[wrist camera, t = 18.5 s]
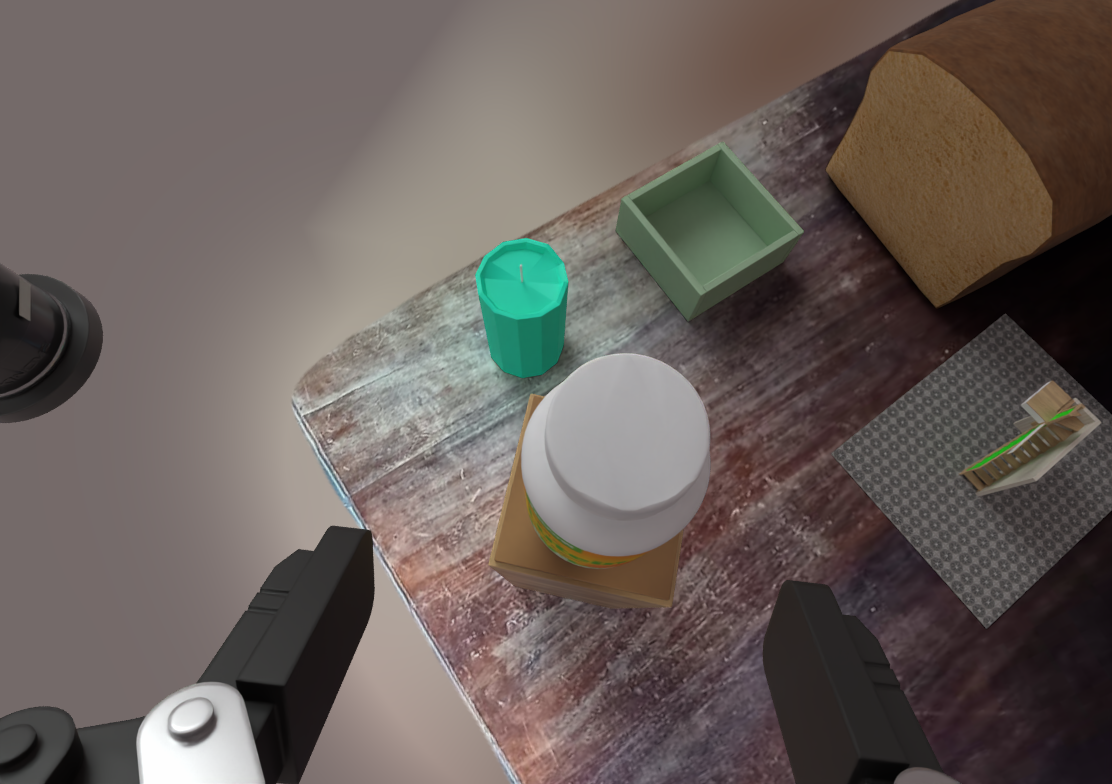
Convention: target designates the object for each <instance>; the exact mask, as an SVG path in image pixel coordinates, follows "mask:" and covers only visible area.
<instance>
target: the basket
mask: <svg viewBox="0 0 1112 784" xmlns="http://www.w3.org/2000/svg"><path fill="white" fill-rule="evenodd" d="M616 232H617V233H618V234H619V236H620V237H621V238H622V239H623V241H624V242H625V243H626V244H627V246H628V247H629V248H630V249H631V251H632V252H633V253H634V254H635V256H636V257H637V258H638V259H639V261H640V262H641V263H642V264H643V266H644V267H645V268H646V269H647V271H648V272H649V273H650V274H651V276H652V277H653V278H654V280H655V281H656V282H657V283H658V285H659V286H660V287H661V288H662V290H663V291H664V292H665V293H666V295H667V296H668V297H669V298H670V300H671V301H672V302H673V303H674V305H675V306H676V307H677V308H678V310H679V311H680V312H681V313H682V315H683V316H684V317H685V318H686V320H687V321H690V320H692V319H693V318H695V317H696V316H698V315H700V314H701V313H703V312H704V311H706V310H708V309H709V308H711V307H712V306H714V305H716V304H717V303H719V302H720V301H722V300H723V299H725V298H727V297H728V296H730V295H731V294H733V293H735V292H736V291H738V290H739V289H741V288H743V287H744V286H746V285H747V284H749V283H751V282H752V281H754V280H755V279H757V278H759V277H760V276H762V275H763V274H765V273H767V272H768V271H770V270H771V269H773V268H774V267H776V266H778V265H779V264H781V263H782V262H784V261H785V259H786V258H787V256H788V255H789V253H790V252H791V250H792V249H793V247H794V246H795V245H796V243H797V242H798V240H799V239H800V237H801V236H802V234H803V233H804V231H803V230H802V229H801V227H800V226H799V225H798V224H797V223H796V222H795V221H794V220H793V219H792V217H791V216H790V215H789V214H788V213H787V212H786V211H785V210H784V209H783V207H782V206H781V205H780V204H779V203H778V202H777V201H776V200H775V199H774V197H773V196H772V195H771V194H770V193H769V192H768V191H767V190H766V189H765V188H764V186H763V185H762V184H761V183H760V182H759V181H758V180H757V179H756V178H755V176H754V175H753V174H752V173H751V172H750V171H749V170H748V169H747V168H746V166H745V165H744V164H743V163H742V162H741V161H740V160H739V159H738V158H737V156H736V155H735V154H734V153H733V152H732V151H731V150H730V149H729V148H728V147H727V145H726V144H725V143H724V142H721V143H719V144H718V145H716V146H714V147H712V148H710V149H708V150H707V151H705V152H703V153H701V154H700V155H698V156H696V157H694V158H693V159H691V160H689V161H687V162H685V163H684V164H682V165H680V166H678V167H677V168H675V169H673V170H671V171H670V172H668V173H666V174H664V175H662V176H661V177H659V178H657V179H655V180H654V181H652V182H650V183H648V184H647V185H645V186H643V187H641V188H639V189H638V190H636V191H634V192H632V193H631V194H629V195H628V196H625V197H624V198H622V199H621V205H620V210H619V215H618V221H617V226H616Z"/></svg>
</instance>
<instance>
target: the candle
mask: <svg viewBox="0 0 1112 784" xmlns="http://www.w3.org/2000/svg"><path fill="white" fill-rule="evenodd" d="M475 276H476V283H477V289H478V295H479V300H480V305H481V310H482V314H483V319H484V324H485V329H486V334H487V339H488V343H489V348H490V353H491V358H492V359H493V360H494V361H495V362H496V363H497V364H498V366H499V367H500V368H501V369H502V370H503V371H504V372H506V373H509V374H512V375H515V376H518V377H521V378H526V377H532V376H538V375H542V374H544V373H545V372H546V371H547V370H549V369H550V368H551V367H553V366H554V365H555V364H556V363H557V362H558V359H559V357H560V354H561V351H562V349H563V346H564V334H565V321H566V307H567V294H568V278H567V274H566V270H565V266H564V263H563V261H562V260H561V259H560V258H559V256H558V255H557V254H556V253H555V252H554V250H553V249H552V248H551V247H550V246H549V244H546V243H542V242H538V241H535V240H531V239H528V238H524V239H518V240H511V241H505V242H502V243H501V244H500V245H498V246H497V247H496V248H495V249H493V250H492V251H491V252H489V253H488V254H487V255H485V256H484V258H483V260H482V262H481V264H480V266H479V268H478V270H477V272H476V274H475Z"/></svg>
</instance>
